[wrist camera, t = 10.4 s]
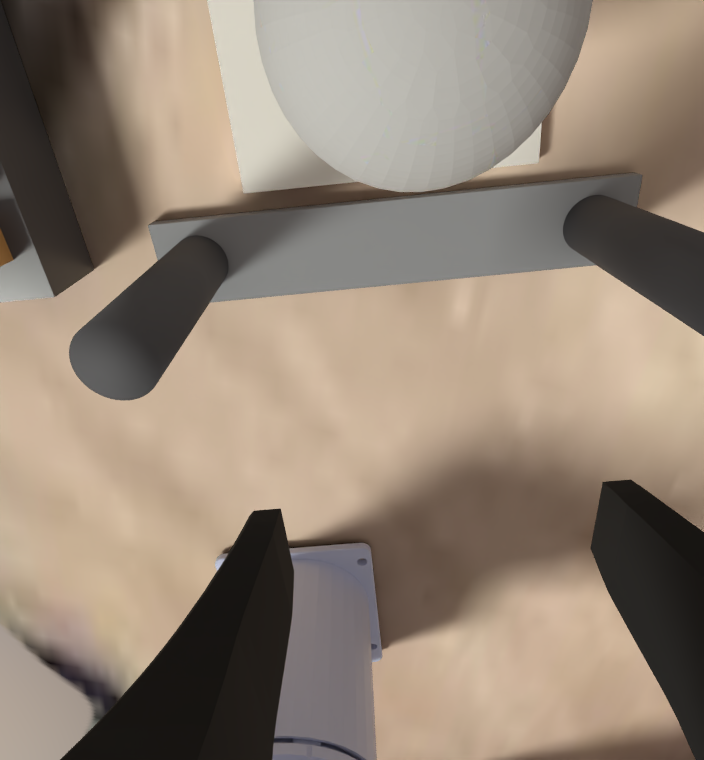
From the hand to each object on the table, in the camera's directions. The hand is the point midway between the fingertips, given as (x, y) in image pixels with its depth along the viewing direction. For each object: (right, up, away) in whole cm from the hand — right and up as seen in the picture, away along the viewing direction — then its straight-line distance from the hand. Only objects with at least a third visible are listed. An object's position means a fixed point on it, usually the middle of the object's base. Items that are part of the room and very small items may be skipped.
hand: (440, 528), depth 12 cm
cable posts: (-1, +9, +7) cm, 11 cm away
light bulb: (-1, +13, +4) cm, 14 cm away
